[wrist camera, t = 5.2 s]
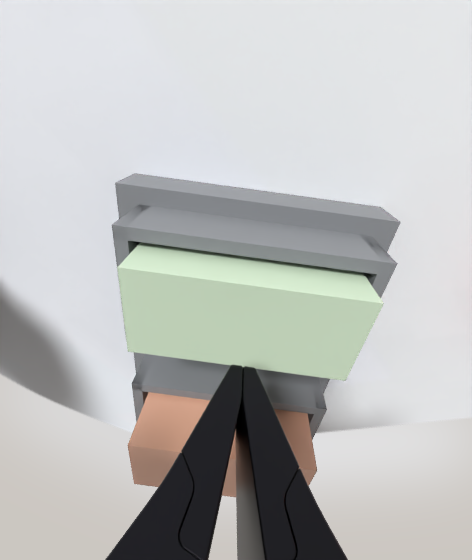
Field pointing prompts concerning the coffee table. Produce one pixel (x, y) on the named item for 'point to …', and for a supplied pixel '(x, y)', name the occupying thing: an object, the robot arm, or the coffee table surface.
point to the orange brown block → (179, 425)
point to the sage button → (245, 310)
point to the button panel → (251, 243)
